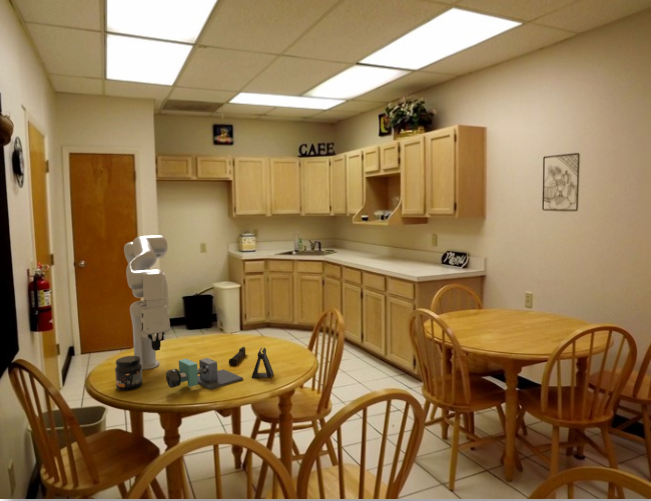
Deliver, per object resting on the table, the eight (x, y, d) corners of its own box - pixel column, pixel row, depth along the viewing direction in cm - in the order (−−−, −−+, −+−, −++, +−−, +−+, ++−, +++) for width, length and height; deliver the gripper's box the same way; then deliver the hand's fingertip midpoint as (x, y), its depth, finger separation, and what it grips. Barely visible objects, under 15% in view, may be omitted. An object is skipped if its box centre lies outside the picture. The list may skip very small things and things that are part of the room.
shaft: (166, 385, 191) (165, 368, 191) (208, 373, 205) (207, 358, 204) (174, 389, 186) (173, 372, 186) (216, 377, 199) (215, 361, 199)
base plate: (191, 380, 204) (191, 378, 204) (223, 371, 215) (223, 369, 215) (210, 389, 193) (210, 387, 192) (243, 379, 204) (242, 377, 203)
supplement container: (111, 387, 197) (110, 359, 196) (135, 380, 205) (134, 353, 204) (123, 393, 190) (121, 364, 189) (147, 386, 198) (146, 358, 197)
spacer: (179, 381, 197) (178, 360, 196) (187, 379, 199) (186, 358, 198) (190, 387, 190) (189, 365, 189) (197, 384, 192) (197, 363, 192)
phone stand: (251, 378, 205) (250, 351, 204) (253, 373, 211) (253, 347, 210) (271, 378, 205) (271, 351, 204) (273, 373, 211) (273, 347, 210)
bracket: (199, 379, 202) (199, 359, 202) (208, 376, 205) (207, 357, 205) (209, 383, 197) (208, 364, 196) (217, 381, 199) (217, 361, 199)
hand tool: (236, 366, 222) (236, 357, 222) (228, 366, 223) (228, 356, 222) (250, 355, 241) (249, 346, 240) (242, 354, 241) (242, 345, 241)
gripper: (139, 307, 175) (141, 356, 176) (176, 302, 185) (178, 347, 187) (131, 305, 180) (133, 352, 182) (167, 299, 191) (169, 344, 192)
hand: (156, 349), depth 184 cm, fingers closed
